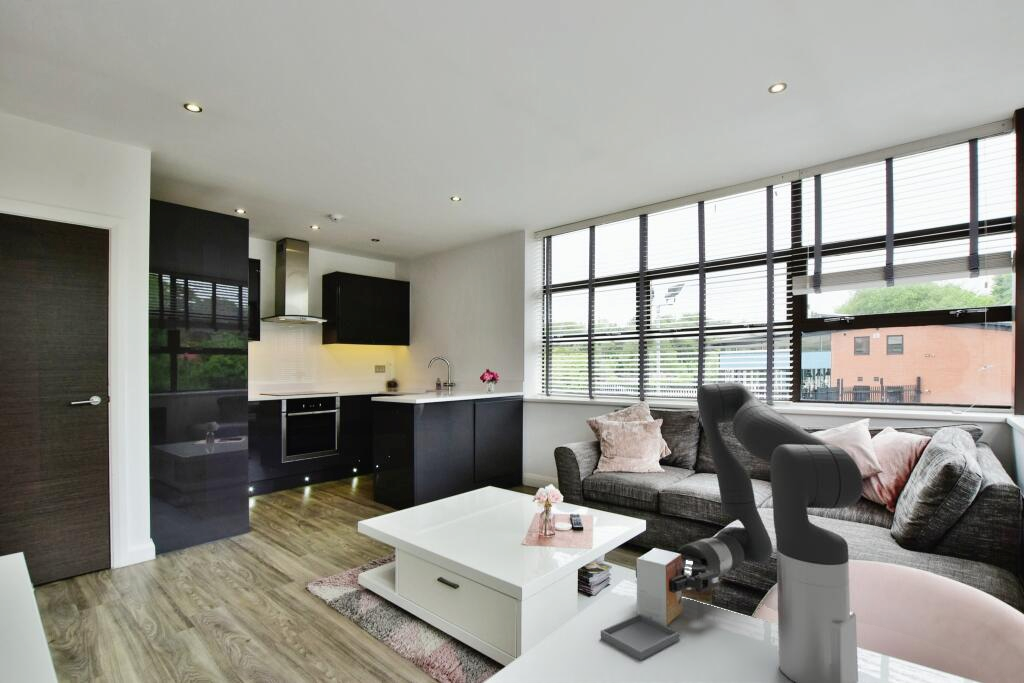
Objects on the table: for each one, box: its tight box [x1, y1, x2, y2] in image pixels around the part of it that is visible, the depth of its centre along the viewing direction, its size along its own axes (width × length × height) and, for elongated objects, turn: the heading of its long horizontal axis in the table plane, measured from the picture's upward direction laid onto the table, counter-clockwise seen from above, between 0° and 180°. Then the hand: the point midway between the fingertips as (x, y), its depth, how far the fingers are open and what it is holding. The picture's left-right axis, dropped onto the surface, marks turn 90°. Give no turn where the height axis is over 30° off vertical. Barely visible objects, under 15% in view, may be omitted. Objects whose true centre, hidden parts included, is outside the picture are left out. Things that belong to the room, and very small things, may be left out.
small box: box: [636, 547, 683, 627], centre depth 92 cm, size 8×6×10 cm
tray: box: [600, 614, 680, 661], centre depth 83 cm, size 8×10×1 cm
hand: (653, 579), depth 91 cm, fingers open, 6 cm apart
